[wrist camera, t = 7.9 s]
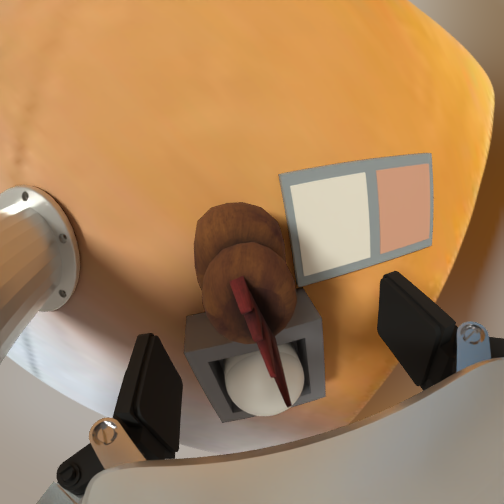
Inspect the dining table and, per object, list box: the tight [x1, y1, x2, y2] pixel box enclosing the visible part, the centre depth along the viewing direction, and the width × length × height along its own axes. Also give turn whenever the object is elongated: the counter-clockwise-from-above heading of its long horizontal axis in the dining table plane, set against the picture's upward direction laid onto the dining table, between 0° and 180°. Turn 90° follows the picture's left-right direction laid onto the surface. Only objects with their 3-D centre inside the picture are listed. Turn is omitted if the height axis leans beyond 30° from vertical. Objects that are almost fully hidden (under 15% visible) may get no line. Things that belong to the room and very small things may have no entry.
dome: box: [223, 342, 304, 416], centre depth 22 cm, size 7×7×7 cm
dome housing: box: [184, 287, 325, 423], centre depth 24 cm, size 11×11×5 cm
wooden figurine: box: [194, 202, 297, 407], centre depth 15 cm, size 7×6×15 cm
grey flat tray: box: [278, 153, 433, 287], centre depth 23 cm, size 16×10×1 cm, turn 102°
